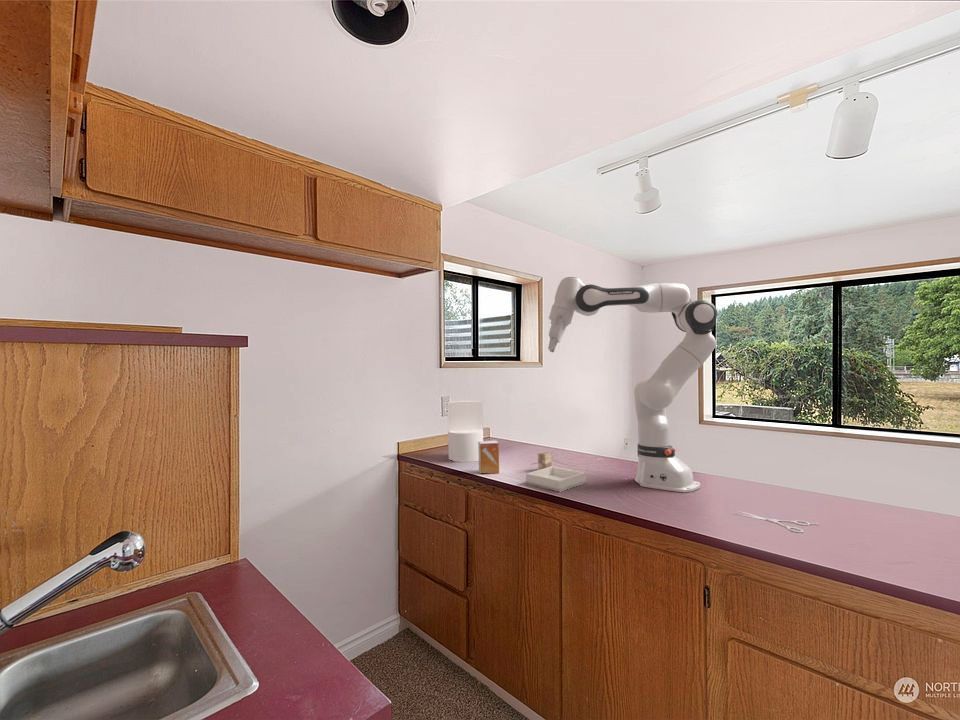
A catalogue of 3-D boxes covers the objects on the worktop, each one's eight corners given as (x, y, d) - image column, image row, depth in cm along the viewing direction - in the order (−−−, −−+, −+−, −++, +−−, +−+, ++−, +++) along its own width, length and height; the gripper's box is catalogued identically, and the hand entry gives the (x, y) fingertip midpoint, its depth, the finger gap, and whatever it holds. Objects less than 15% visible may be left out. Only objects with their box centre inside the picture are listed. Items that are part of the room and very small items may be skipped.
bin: (585, 483, 168) (585, 472, 168) (559, 492, 157) (559, 481, 157) (552, 476, 179) (552, 466, 179) (526, 484, 169) (525, 473, 169)
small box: (480, 474, 185) (479, 443, 185) (478, 471, 191) (477, 441, 191) (499, 473, 186) (498, 442, 186) (497, 469, 192) (496, 440, 192)
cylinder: (448, 455, 224) (446, 400, 224) (481, 454, 226) (480, 399, 226) (449, 463, 207) (447, 403, 207) (485, 461, 209) (484, 402, 209)
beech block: (551, 470, 189) (551, 453, 189) (545, 472, 186) (545, 454, 186) (544, 469, 192) (544, 451, 192) (538, 470, 189) (538, 453, 189)
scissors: (808, 534, 114) (725, 514, 129) (808, 537, 114) (725, 517, 129) (819, 523, 121) (739, 506, 136) (819, 526, 121) (739, 509, 136)
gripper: (568, 314, 163) (557, 350, 162) (568, 323, 182) (559, 355, 182) (551, 310, 164) (541, 346, 164) (554, 319, 184) (544, 350, 184)
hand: (550, 350), depth 173 cm, fingers open, 8 cm apart
